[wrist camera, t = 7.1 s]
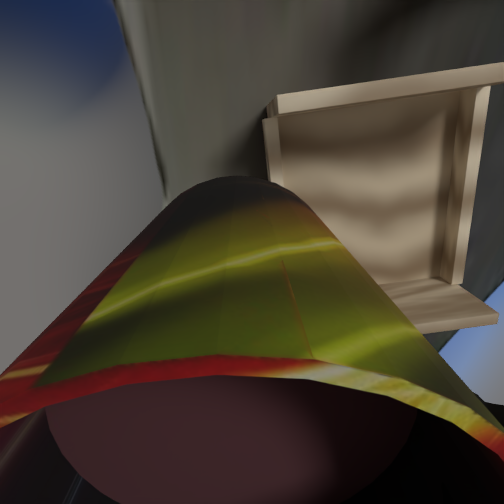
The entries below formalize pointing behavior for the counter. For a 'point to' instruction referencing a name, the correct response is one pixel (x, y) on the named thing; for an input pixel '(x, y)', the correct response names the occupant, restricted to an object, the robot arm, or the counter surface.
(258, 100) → the counter surface
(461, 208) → the open wooden box
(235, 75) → the counter surface
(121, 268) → the mug
